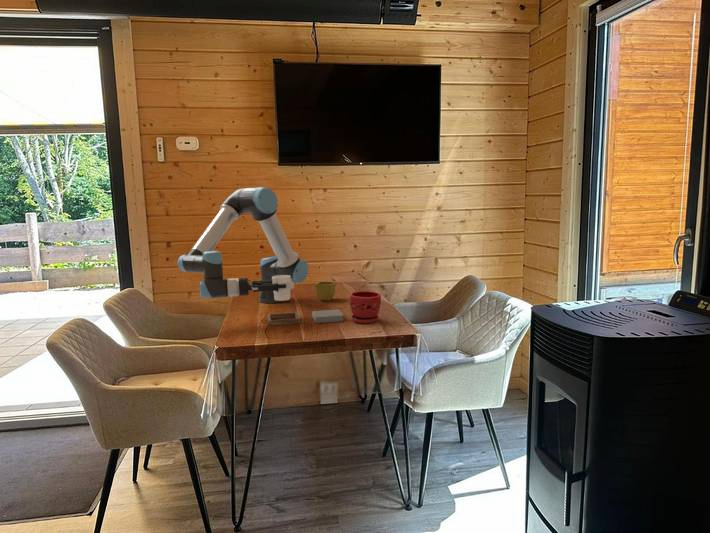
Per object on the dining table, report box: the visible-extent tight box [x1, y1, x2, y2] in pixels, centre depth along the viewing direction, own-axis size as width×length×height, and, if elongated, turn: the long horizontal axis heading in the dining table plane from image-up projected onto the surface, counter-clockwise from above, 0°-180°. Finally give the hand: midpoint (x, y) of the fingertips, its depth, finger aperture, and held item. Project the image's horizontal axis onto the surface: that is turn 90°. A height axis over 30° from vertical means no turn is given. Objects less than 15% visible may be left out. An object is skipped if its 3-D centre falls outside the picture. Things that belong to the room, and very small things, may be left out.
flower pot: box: [315, 281, 337, 301], centre depth 251 cm, size 9×9×9 cm
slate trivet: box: [311, 309, 345, 324], centre depth 210 cm, size 12×12×2 cm
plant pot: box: [349, 290, 382, 324], centre depth 204 cm, size 13×13×12 cm
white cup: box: [272, 275, 291, 302], centre depth 206 cm, size 8×8×10 cm
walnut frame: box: [267, 311, 301, 327], centre depth 208 cm, size 13×13×2 cm
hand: (293, 283), depth 207 cm, fingers closed on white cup, 7 cm apart
